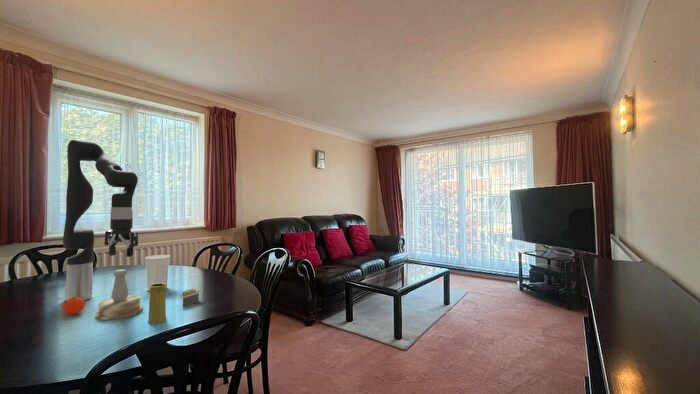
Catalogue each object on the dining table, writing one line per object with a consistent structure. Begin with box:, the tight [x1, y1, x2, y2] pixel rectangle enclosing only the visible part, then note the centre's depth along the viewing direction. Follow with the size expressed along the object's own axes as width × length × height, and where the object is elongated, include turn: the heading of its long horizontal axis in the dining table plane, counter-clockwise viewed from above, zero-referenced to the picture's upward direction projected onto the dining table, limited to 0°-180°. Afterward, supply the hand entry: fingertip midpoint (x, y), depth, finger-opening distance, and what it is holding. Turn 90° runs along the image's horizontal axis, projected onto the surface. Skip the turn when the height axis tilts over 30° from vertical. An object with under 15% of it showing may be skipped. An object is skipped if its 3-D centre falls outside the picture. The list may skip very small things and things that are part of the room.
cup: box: [144, 254, 171, 293], centre depth 159 cm, size 11×11×17 cm
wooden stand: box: [94, 294, 144, 321], centre depth 127 cm, size 16×16×5 cm
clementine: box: [62, 297, 86, 316], centre depth 125 cm, size 8×7×7 cm
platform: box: [179, 288, 203, 307], centre depth 139 cm, size 12×18×7 cm, turn 155°
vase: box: [147, 283, 167, 325], centre depth 119 cm, size 6×6×14 cm
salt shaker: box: [110, 269, 129, 302], centre depth 127 cm, size 6×6×13 cm
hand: (121, 256), depth 127 cm, fingers open, 8 cm apart
